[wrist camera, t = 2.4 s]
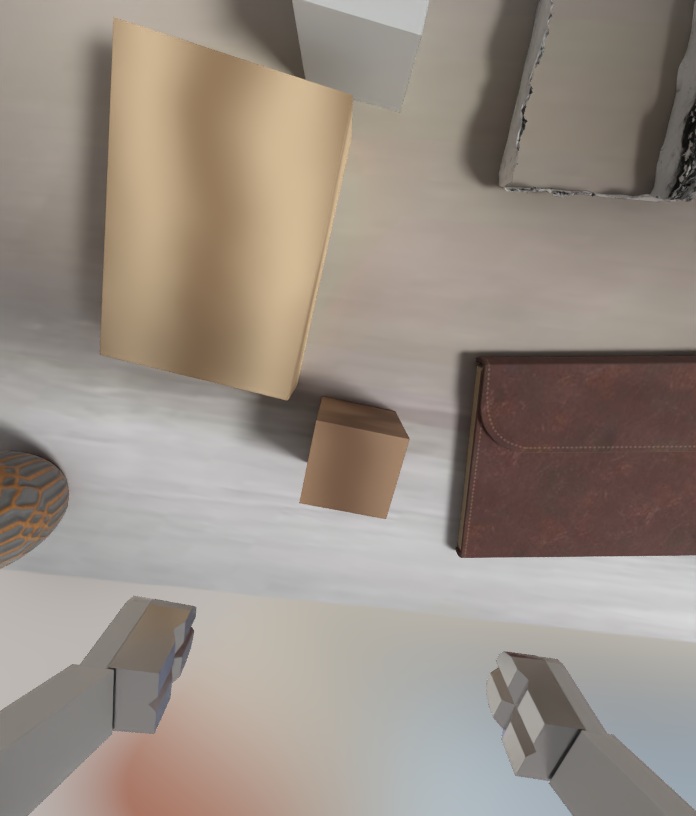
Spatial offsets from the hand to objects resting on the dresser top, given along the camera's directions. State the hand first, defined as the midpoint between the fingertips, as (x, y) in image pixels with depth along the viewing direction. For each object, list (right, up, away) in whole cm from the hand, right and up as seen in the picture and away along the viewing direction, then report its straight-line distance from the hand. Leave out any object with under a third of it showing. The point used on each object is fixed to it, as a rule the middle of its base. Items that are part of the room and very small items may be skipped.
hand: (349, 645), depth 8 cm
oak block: (-6, +15, +11) cm, 20 cm away
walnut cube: (0, +4, +14) cm, 14 cm away
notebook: (+18, +3, +15) cm, 24 cm away
